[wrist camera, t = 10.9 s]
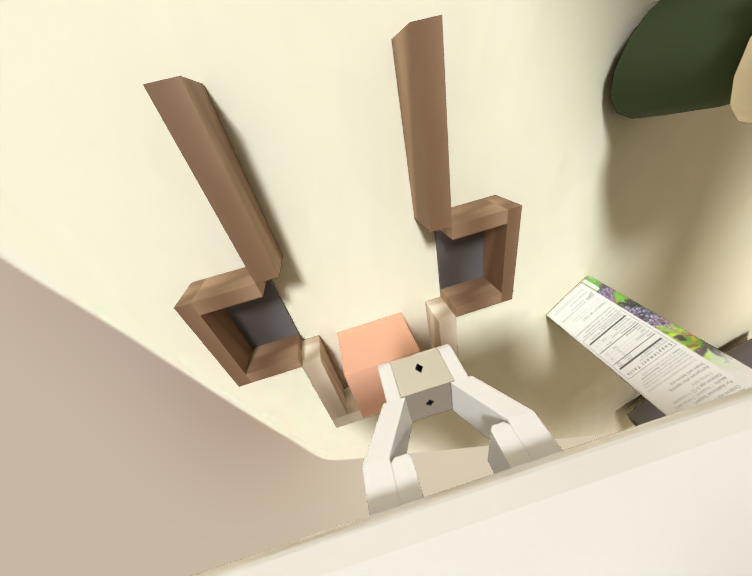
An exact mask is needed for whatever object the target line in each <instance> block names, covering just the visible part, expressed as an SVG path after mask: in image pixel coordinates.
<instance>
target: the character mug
mask: <svg viewBox="0 0 752 576" xmlns="http://www.w3.org/2000/svg"><path fill="white" fill-rule="evenodd" d="M611 98H612V101H613V104H614V106H615V109H616V112H617V113H619V114H622V115H624V116H627V117H629V118H631V119H632V118H642V117H651V116H661V115H668V114H674V113H681V112H687V111H694V110H700V109H707V108H714V107H720V106H723V105H727V104H730V106H731V108H732V110H733V112H734V114H735V116H736V118H737V119H738V121H742V122H747V123H752V0H660V1H659V2H658V3H657V4H656V5H655V6H654V7H653V8H652V9H650V10H649V11H648V13H647V14H646V16H645V17H644V18H643V20H642V21H641V23H640V24H639V26H638V27H637V28H636V30H635V31H634V33H633V34H632V36H631V37H630V38H629V40H628V42H627V44H626V46H625V49H624V51H623V53H622V55H621V57H620V60H619V62H618V64H617V66H616V68H615V71H614V77H613V83H612V90H611Z"/></svg>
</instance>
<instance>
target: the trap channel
mask: <svg viewBox="0 0 752 576" xmlns="http://www.w3.org/2000/svg"><path fill="white" fill-rule="evenodd" d="M392 47H393V55H394V63H395V70H396V78H397V86H398V94H399V102H400V109H401V117H402V125H403V133H404V140H405V148H406V156H407V164H408V171H409V179H410V187H411V195H412V202H413V210H414V218H415V219H416V220H417V221H418V222H419V223H420V224H421V225H423V226H424V227H425V228H426V229H427V230H428V231H429V232H433V231H435V236H436V248H437V259H438V271H439V283H440V294H441V297H439V298H436V299H433V300H429V301H426V302H425V303H426V311H427V319H428V327H429V334H430V342H431V349H432V348H435V347H439V346H442V345H445V344H449V345H450V346H451V348H452V349H453V351H454V353H455V355H456V356H457V358H458V346H457V325H456V317H458V316H461V315H464V314H467V313H470V312H473V311H476V310H479V309H482V308H486V307H489V306H492V305H495V304H498V303H501V302H504V301H507V300H510V299H512V294H513V285H514V275H515V266H516V256H517V247H518V238H519V228H520V219H521V210H522V205H520V204H517V203H515V202H512V201H509V200H507V199H504V198H502V197H499V196H497V195H493V196H490V197H487V198H483V199H480V200H476V201H473V202H469V203H466V204H462V205H459V206H455V207H452V208H451V196H450V175H449V154H448V132H447V111H446V89H445V68H444V47H443V25H442V15H439V16H435V17H430V18H426V19H422V20H417V21H413V22H410V23H409V24H408V25H406V26H405V27H404V28H403V29H402V30H401V31H400V32H399V33H398V34H397V35H396V36H395V37H394V38H393V39H392ZM143 85H144V87H145V89H146V91H147V93H148V94H149V96H150V98H151V100H152V101H153V103H154V105H155V107H156V108H157V110H158V112H159V114H160V116H161V117H162V119H163V121H164V123H165V124H166V126H167V128H168V130H169V132H170V133H171V135H172V137H173V139H174V140H175V142H176V144H177V146H178V147H179V149H180V151H181V153H182V155H183V156H184V158H185V160H186V162H187V163H188V165H189V167H190V169H191V171H192V172H193V174H194V176H195V178H196V179H197V181H198V183H199V185H200V186H201V188H202V190H203V192H204V194H205V195H206V197H207V199H208V201H209V202H210V204H211V206H212V208H213V210H214V211H215V213H216V215H217V217H218V218H219V220H220V222H221V224H222V225H223V227H224V229H225V231H226V233H227V234H228V236H229V238H230V240H231V241H232V243H233V245H234V247H235V249H236V250H237V252H238V254H239V256H240V257H241V259H242V261H243V263H244V264H245V266H246V267H245V268H241V269H238V270H234V271H231V272H227V273H224V274H221V275H217V276H214V277H210V278H207V279H203V280H200V281H196V282H193V283H191V284H190V286H189V287H188V289H187V290H186V291H185V293H184V294H183V296H182V297H181V299H180V300H179V301H178V303H177V304H176V306H175V307H174V309H175V310H176V311H177V312H178V314H179V315H180V316H181V317H182V318H183V320H184V321H185V322H186V323H187V324H188V326H189V327H190V328H191V329H192V330H193V332H194V333H195V334H196V335H197V336H198V338H199V339H200V340H201V341H202V343H203V344H204V345H205V346H206V347H207V349H208V350H209V351H210V352H211V353H212V355H213V356H214V357H215V358H216V359H217V361H218V362H219V363H220V364H221V365H222V367H223V368H224V369H225V370H226V372H227V373H228V374H229V375H230V376H231V378H232V379H233V380H234V381H235V382H236V384H237V385H238V386H239V387H240V386H243V385H246V384H249V383H252V382H255V381H258V380H261V379H265V378H268V377H271V376H274V375H277V374H280V373H283V372H286V371H289V370H293V369H296V368H299V367H303V369H304V371H305V373H306V374H307V376H308V378H309V380H310V381H311V383H312V385H313V387H314V389H315V390H316V392H317V394H318V396H319V397H320V399H321V401H322V403H323V404H324V406H325V408H326V410H327V412H328V413H329V415H330V417H331V419H332V420H333V422H334V424H335V426H336V428H338V427H341V426H343V425H346V424H349V423H352V422H355V421H358V420H361V419H364V418H363V416H362V414H361V412H360V410H359V407H358V405H357V403H356V401H355V398H354V396H353V394H352V392H351V389H350V387H347V388H344V389H343V386H342V384H341V382H340V380H339V378H338V376H337V373H336V371H335V369H334V367H333V365H332V363H331V360H330V358H329V356H328V354H327V352H326V350H325V347H324V345H323V343H322V341H321V339H320V337H319V335H318V336H315V337H312V338H308V339H305V340H302V339H301V337H300V335H299V333H298V331H297V329H296V327H295V325H294V323H293V321H292V320H291V318H290V316H289V314H288V312H287V310H286V308H285V306H284V304H283V302H282V300H281V298H280V296H279V294H278V293H277V291H276V289H275V287H274V285H273V283H272V281H271V279H274V278H277V277H279V275H280V269H281V263H282V257H283V256H282V254H281V252H280V250H279V248H278V245H277V243H276V241H275V239H274V237H273V235H272V232H271V230H270V228H269V226H268V224H267V222H266V219H265V217H264V215H263V213H262V211H261V209H260V206H259V204H258V202H257V200H256V198H255V196H254V193H253V191H252V189H251V187H250V185H249V183H248V180H247V178H246V176H245V174H244V172H243V170H242V167H241V165H240V163H239V161H238V159H237V157H236V154H235V152H234V150H233V148H232V146H231V143H230V141H229V139H228V137H227V135H226V133H225V130H224V128H223V126H222V124H221V122H220V120H219V117H218V115H217V113H216V111H215V109H214V107H213V104H212V102H211V100H210V98H209V96H208V94H207V91H206V89H205V87H204V85H203V84H201V83H199V82H196V81H193V80H190V79H187V78H185V77H182V76H177V77H173V78H169V79H165V80H160V81H156V82H152V83H147V84H143ZM379 413H380V412H379ZM379 413H376V414H379ZM376 414H374V415H376ZM371 416H373V415H371ZM368 417H370V416H368ZM365 418H367V417H365Z"/></svg>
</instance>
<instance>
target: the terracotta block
mask: <svg viewBox="0 0 752 576" xmlns="http://www.w3.org/2000/svg"><path fill="white" fill-rule="evenodd" d="M338 339H339V345H340V351H341V357H342V364H343V370H344V376H345V378H346V380H347V383H348V385H349V387H350V389H351V392H352V394H353V396H354V398H355V401H356V403H357V405H358V407H359V410H360V412H361V414H362V416H363V418H365V417H368V416H371V415H374V414H376V413H379V412H381V409H382V406H383V404H384V403H387V402H386V398H385V394H384V390H383V386H382V383H381V379H380V375H379V371H378V365H381V364H384V363H388V362H391V361H395V360H398V359H402V358H405V357H409V356H412V355H414V354H417V353H420V349H419V347H418V345H417V344H416V342H415V340H414V338H413V336H412V334H411V332H410V330H409V328H408V326H407V324H406V322H405V320H404V318H403V316H402V314H401V313H397V314H394V315H391V316H388V317H385V318H382V319H379V320H375V321H372V322H369V323H366V324H363V325H360V326H357V327H354V328H350V329H347V330H344V331H341V332H338ZM390 365H391V364H390Z"/></svg>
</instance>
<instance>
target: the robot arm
mask: <svg viewBox="0 0 752 576" xmlns="http://www.w3.org/2000/svg"><path fill="white" fill-rule="evenodd" d="M390 364H391V365H390ZM378 371H379V375H380V379H381V383H382V386H383V390H384V394H385V398H386V402H387V403H384V404H383V406H382V409H381V412H380V415H379V418H378V421H377V424H376V427H375V430H374V433H373V436H372V439H371V442H370V445H369V448H368V451H367V454H366V457H365V460H364V463H363V474H364V482H365V489H366V496H367V503H368V510H369V516H367V517H364V518H361V519H359V520H355V521H352V522H349V523H347V524H344V525H341V526H337V527H334V528H332V529H329V530H325V531H322V532H319V533H316V534H314V535H311V536H308V537H305V538H302V539H299V540H296V541H293V542H290V543H287V544H284V545H281V546H278V547H275V548H272V549H269V550H266V551H263V552H260V553H257V554H254V555H251V556H248V557H245V558H242V559H239V560H236V561H233V562H230V563H227V564H224V565H221V566H218V567H216V568H213V569H209V570H206V571H203V572H200V573H198V574H195V575H192V576H752V387H751V388H748V389H745V390H742V391H739V392H736V393H733V394H730V395H727V396H724V397H721V398H718V399H715V400H712V401H709V402H706V403H703V404H700V405H697V406H694V407H691V408H688V409H685V410H682V411H679V412H676V413H673V414H670V415H668V416H665V417H662V418H659V419H656V420H653V421H650V422H647V423H644V424H641V425H638V426H635V427H632V428H629V429H626V430H623V431H620V432H617V433H614V434H611V435H608V436H605V437H602V438H599V439H596V440H593V441H590V442H587V443H584V444H581V445H578V446H576V447H572V448H569V449H566V450H563V451H562V449H561V448H560V446H559V445H558V444H557V442H556V441H555V440H554V438H553V437H552V435H551V434H550V433H549V431H548V430H547V429H546V427H545V426H544V425H543V423H542V422H541V420H540V419H539V418H538V416H537V415H536V414H535V412H534V411H533V410H531V409H529V408H527V407H526V406H524V405H522V404H520V403H519V402H517V401H515V400H514V399H512V398H510V397H508V396H507V395H505V394H503V393H501V392H500V391H498V390H496V389H494V388H493V387H491V386H489V385H488V384H486V383H484V382H482V381H481V380H479V379H477V378H475V377H474V376H468V375H467V373H466V371H465V370H464V368H463V366H462V365H461V363H460V361H459V360H458V358H457V356H456V355H455V353H454V351H453V349H452V348H451V346H450V345H449V344H445V345H442V346H439V347H435V348H432V349H429V350H426V351H423V352H420V353H417V354H414V355H412V356H409V357H405V358H402V359H398V360H395V361H391V362H388V363H384V364H381V365H378ZM451 409H453V411H455V412H456V413H457V414H458V415H460V416H461V417H462V418H463V419H465V420H466V421H467V422H468V423H469V424H471V425H472V426H473V427H474V428H476V429H477V430H478V431H479V432H481V433H482V434H483V435H484V436H486V437H487V438H488V439H489V440H490V444H489V453H488V462H489V464H490V466H491V468H492V470H493V472H494V474H492V475H489V476H486V477H483V478H480V479H477V480H474V481H471V482H468V483H465V484H462V485H459V486H456V487H453V488H451V489H448V490H444V491H442V492H439V493H436V494H433V495H430V496H427V497H423V493H422V490H421V487H420V483H419V480H418V477H417V474H416V471H415V467H414V464H413V461H412V458H411V456H409V455H407V448H408V443H409V438H410V433H411V427H412V422H414V421H417V420H420V419H422V418H425V417H428V416H431V415H434V414H437V413H441V412H444V411H448V410H451Z"/></svg>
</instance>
